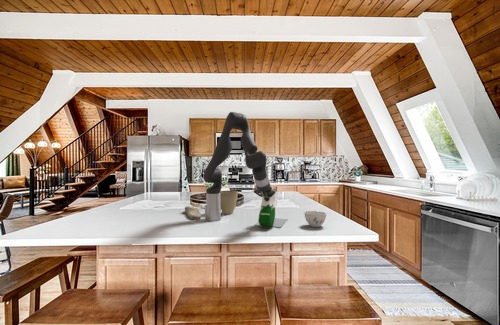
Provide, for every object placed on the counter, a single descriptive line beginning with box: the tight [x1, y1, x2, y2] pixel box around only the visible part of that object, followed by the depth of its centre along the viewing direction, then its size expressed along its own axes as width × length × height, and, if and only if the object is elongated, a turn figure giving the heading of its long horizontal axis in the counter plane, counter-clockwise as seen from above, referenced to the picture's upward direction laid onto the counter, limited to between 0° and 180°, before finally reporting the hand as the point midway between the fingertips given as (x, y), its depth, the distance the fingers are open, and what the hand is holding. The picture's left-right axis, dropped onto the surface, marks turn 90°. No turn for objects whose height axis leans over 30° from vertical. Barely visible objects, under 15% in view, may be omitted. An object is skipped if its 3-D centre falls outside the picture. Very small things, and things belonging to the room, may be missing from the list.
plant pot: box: [221, 190, 239, 215], centre depth 192 cm, size 15×15×16 cm
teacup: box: [303, 210, 327, 228], centre depth 155 cm, size 15×12×8 cm
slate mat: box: [254, 217, 288, 229], centre depth 163 cm, size 16×22×1 cm
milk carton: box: [257, 193, 278, 229], centre depth 154 cm, size 9×9×20 cm
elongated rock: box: [184, 205, 202, 221], centre depth 186 cm, size 35×5×10 cm
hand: (267, 200), depth 153 cm, fingers closed
